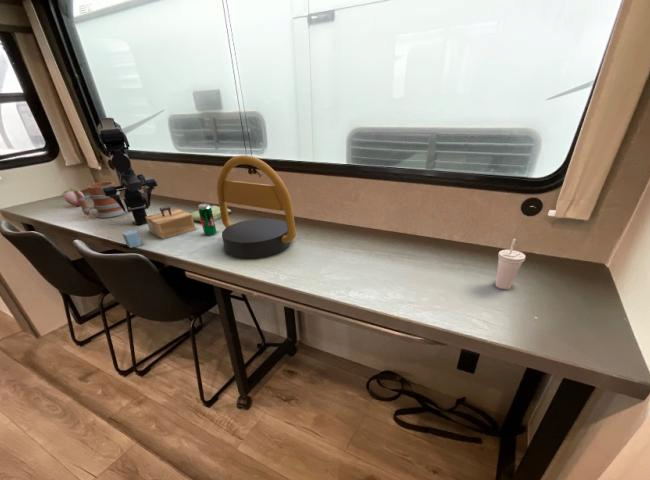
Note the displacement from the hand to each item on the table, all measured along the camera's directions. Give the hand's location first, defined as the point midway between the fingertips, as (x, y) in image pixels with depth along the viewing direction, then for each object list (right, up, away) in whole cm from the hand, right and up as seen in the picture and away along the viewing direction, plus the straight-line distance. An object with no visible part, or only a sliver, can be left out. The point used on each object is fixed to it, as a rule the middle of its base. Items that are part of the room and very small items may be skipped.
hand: (137, 208), depth 130 cm
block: (-2, -14, +2) cm, 14 cm away
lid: (+7, -1, +11) cm, 13 cm away
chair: (+49, -15, -4) cm, 51 cm away
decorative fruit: (-64, +17, +56) cm, 87 cm away
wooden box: (+8, -6, +14) cm, 17 cm away
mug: (-36, +7, +38) cm, 53 cm away
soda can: (+26, -8, +9) cm, 29 cm away
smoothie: (+123, -32, -37) cm, 133 cm away
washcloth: (+19, +4, +28) cm, 34 cm away
